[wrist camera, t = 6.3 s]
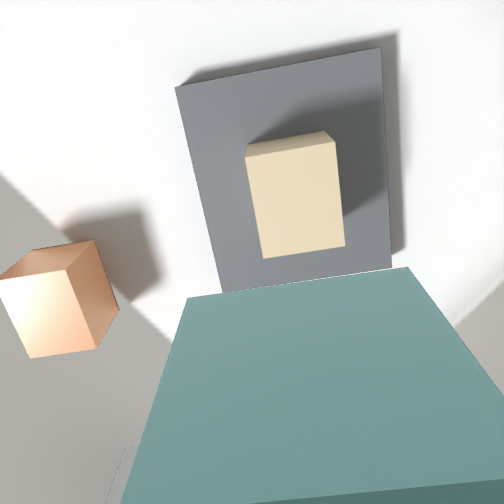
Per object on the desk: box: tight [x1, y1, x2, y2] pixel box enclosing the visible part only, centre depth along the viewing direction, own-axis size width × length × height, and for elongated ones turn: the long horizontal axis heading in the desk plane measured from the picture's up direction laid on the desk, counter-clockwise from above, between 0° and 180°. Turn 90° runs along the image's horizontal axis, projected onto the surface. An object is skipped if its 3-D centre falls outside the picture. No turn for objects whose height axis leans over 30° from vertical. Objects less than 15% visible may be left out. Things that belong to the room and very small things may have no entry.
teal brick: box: [120, 267, 504, 504], centre depth 8 cm, size 6×5×5 cm
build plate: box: [174, 47, 392, 293], centre depth 26 cm, size 14×12×6 cm
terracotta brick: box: [0, 240, 119, 358], centre depth 30 cm, size 6×5×5 cm
